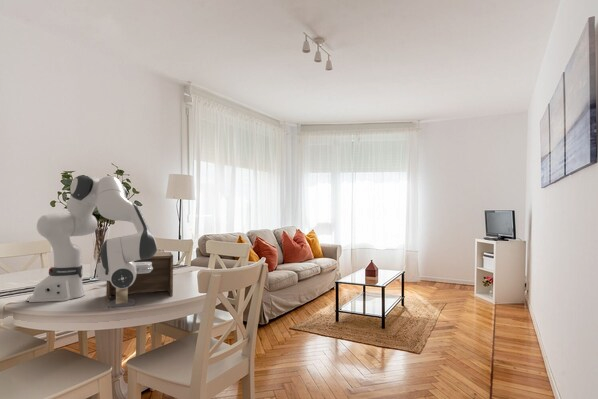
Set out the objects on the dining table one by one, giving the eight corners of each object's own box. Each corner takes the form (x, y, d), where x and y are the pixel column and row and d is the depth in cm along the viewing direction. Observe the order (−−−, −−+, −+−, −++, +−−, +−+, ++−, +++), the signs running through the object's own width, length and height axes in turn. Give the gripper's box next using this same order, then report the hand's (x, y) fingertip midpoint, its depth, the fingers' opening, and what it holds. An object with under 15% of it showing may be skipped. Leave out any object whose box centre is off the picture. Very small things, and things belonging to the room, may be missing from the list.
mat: (108, 307, 158) (108, 306, 158) (109, 302, 168) (109, 300, 168) (134, 305, 162) (134, 303, 162) (134, 300, 171) (134, 298, 171)
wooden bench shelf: (172, 295, 180) (173, 255, 180) (106, 301, 169) (106, 258, 169) (170, 289, 194) (170, 252, 194) (108, 294, 183) (109, 254, 183)
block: (115, 304, 162) (116, 280, 162) (116, 301, 166) (116, 278, 166) (127, 303, 164) (127, 279, 164) (127, 300, 168) (127, 277, 168)
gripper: (153, 261, 149) (152, 256, 162) (94, 263, 141) (98, 258, 154) (153, 277, 149) (152, 271, 161) (94, 280, 141) (97, 273, 154)
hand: (125, 265), depth 158 cm, fingers open, 8 cm apart
